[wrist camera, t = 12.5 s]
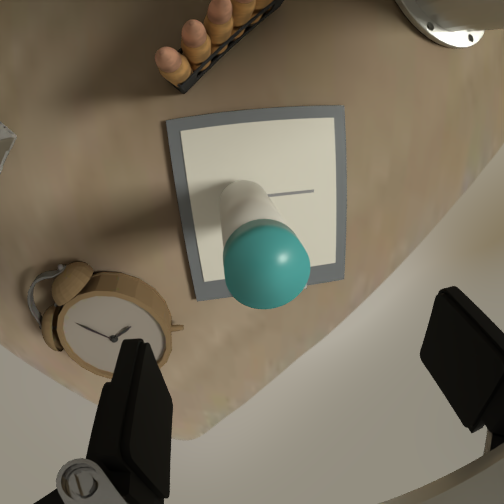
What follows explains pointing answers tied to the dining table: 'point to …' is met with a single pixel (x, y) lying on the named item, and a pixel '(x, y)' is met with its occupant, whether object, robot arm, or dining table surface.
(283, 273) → the marker
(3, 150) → the laptop
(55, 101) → the dining table surface
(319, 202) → the drawing board
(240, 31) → the ammunition clip
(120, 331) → the alarm clock
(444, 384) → the robot arm
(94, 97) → the dining table surface
